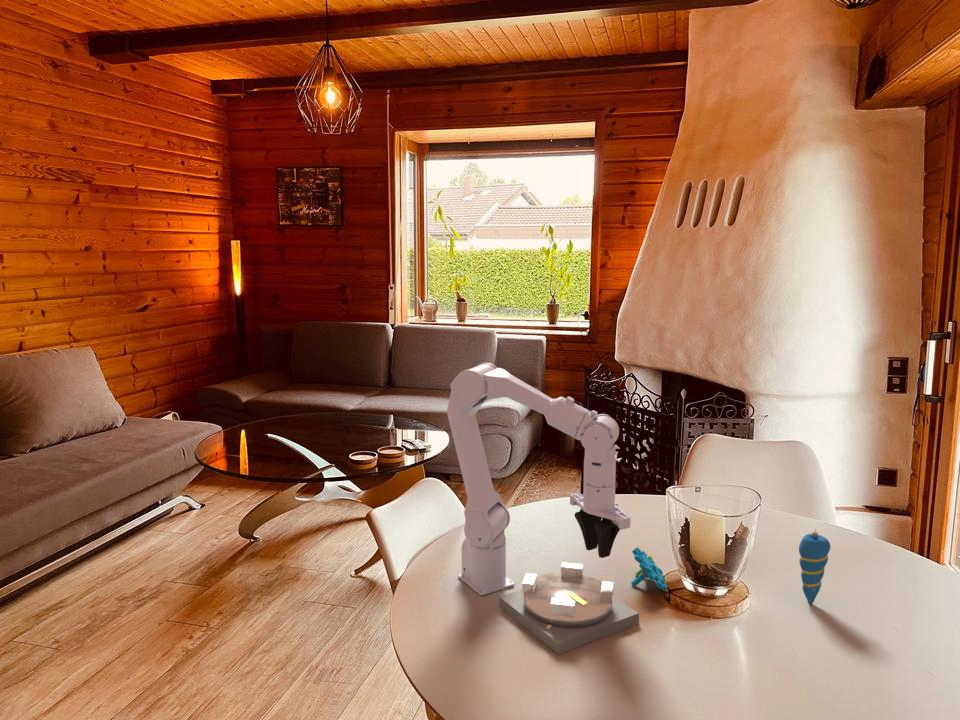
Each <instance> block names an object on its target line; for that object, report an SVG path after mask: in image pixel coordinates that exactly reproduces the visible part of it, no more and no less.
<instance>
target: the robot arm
mask: <svg viewBox="0 0 960 720" xmlns="http://www.w3.org/2000/svg"><path fill="white" fill-rule="evenodd" d="M449 385H450V386H449V387H450V390H451V391H450V396H449V399H448V403H447V408H446V413H447V414H446V415H447V419H448V423H449V427H450V432H451V435H452V440H453V442H454V443H453V444H454V447H455V451H456V455H457V459H458V460H457V461H458V463H459V468H460V471H461V475H462V479H463V480H462V481H463V484H464V489H465V493H466V497H467V500H466V503H465V507H464V511H463V513H464V519H465V523H464V527H463V533H464V536H465V538H464V539H463V541H462V544H461V549H460V550H461V573H458V574H457V577H458V578H459V579H460V580H461V581H463V583H465V584H466V585H468V586H469V587H470V588H471V589H472V590H473V591H475V592H476V593H477V594H479V595H480V596H484V595H488V594H491V593H494V592H499V591H501V590H505V589H507V588H510V587H513V586H514V587H515V582H514V581H512V580H511V579H510V578H509V577H507V574H506V573H507V569H506V567H507V565H506V563H507V561H506V560H507V559H506V558H507V554H506V553H507V551H506V550H507V549H506V548H507V547H506V546H507V545H506V544H507V542H506V540H507V538H506V535H505V534H506V533H505V530H506V529H507V528H508V527H509V525H510V521H511V515H510V511H509V510H508V508H507V507H506V506H505V504H504V503H503V499H502V496H501V494H499V493H498V492H497V491H496V490H495V489H494V485H493V481H492V480H493V479H492V477H491V472H490V469H489V465H488V460H487V457H486V453H485V448H484V443H483V440H482V435H481V432H480V427H479V424H478V418H477V412H478V411H479V410H480V408H481V407H482V405H483V404H484V403H485V401H486V400H493V399H494V400H495V399H501V398H507V399H510V400H512V401H514V402H517V403H519V404H521V405H523V406H525V407H526V408H528V409H531V410H533V411H535V412H537V413H540V414H541V415H543V416H544V417H545V421H546V422H547V425H549V426H551V427H553V428H555V429H557V430H558V431H560V432H562V433H564V434H566V435H567V436H570V437H572V438H573V439H575V440H577V441H580V443H581V445H582V447H583V448H584V457H583V491H582V492H583V493H580V492H575V493H572V494H569V504H570V505H571V506H577V507H579V508H580V510H579V511H576V512H575V513H574V518H575V520H576V521H577V524H578V525H579V528H580V531H581V535H582V537H583V541H584V545H585V549H586V551H592V550H594V549H597V554H598V557H599V558H601V559H603V558H607V557H609V556H610V555H611V552H612V550H613V545H614V543H615V540H616V537H617V535H618V534H619V532H620V530H625V529H629V528H631V516H629V515H627V514H626V513H624V511H622V509H620V508H619V502H618V501H616V474H617V473H616V471H617V470H616V466H617V459H616V453H617V452H616V448H617V447H616V444H615V442H617V440H618V438H619V435H620V427H619V424H618V422H617V421H616V420H615V419H614V418H613V417H611V416H610V415H609V414H606V413H600V414H598V411H596V410H594V409H593V410H592V411H591V410H589V409H587V408H585V407H583V406H582V405H579V404H577V403H575V399H574V398H573V397H571V396H567V397H563V396H559V397H557V398H552V397H551V396H548V395H547V394H545V393H544V392H542V391H540V390H538V389H536V388H534V387H533V386H532V385H530V384H529V383H526V382H525V381H523V380H521V379H519V378H518V377H516V376H515V375H512V374H511V373H510V372H508V371H507V370H506V369H504V368H501V367H497V366H496V365H494V364H493V363H490V362H482V363H480V364H478V365H476V366H474V367H472V368H469V369H464V370H462V371H460V372H458V374H457V375H456V377H454V379H453V380H452V382H451V383H450V384H449Z"/></svg>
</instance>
